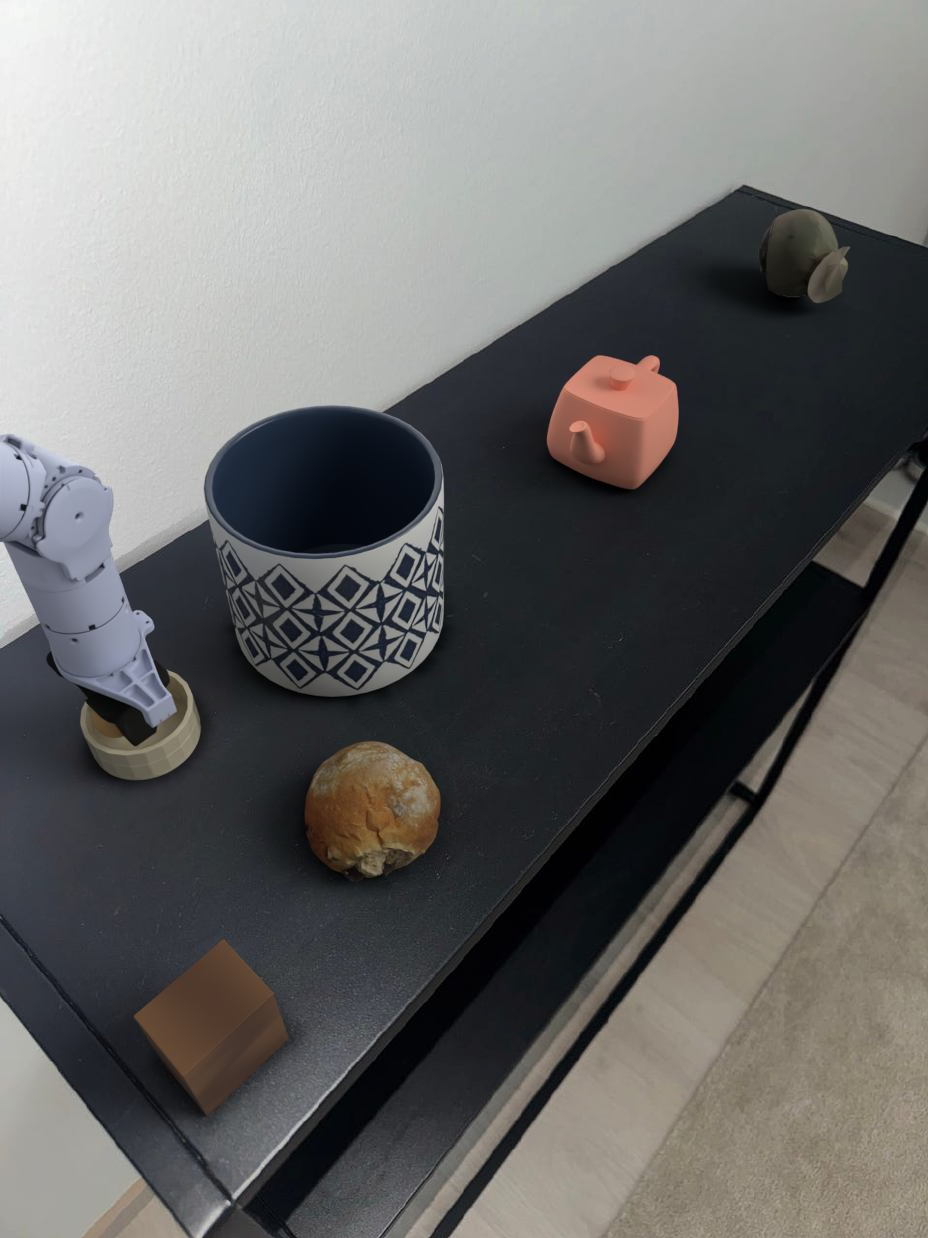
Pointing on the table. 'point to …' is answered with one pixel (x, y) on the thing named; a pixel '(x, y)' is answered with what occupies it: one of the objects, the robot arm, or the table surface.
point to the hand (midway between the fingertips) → (129, 723)
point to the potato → (106, 727)
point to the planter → (330, 546)
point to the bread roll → (371, 810)
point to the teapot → (615, 421)
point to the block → (214, 1026)
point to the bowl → (149, 739)
